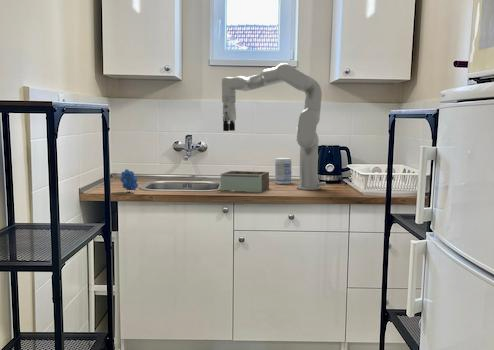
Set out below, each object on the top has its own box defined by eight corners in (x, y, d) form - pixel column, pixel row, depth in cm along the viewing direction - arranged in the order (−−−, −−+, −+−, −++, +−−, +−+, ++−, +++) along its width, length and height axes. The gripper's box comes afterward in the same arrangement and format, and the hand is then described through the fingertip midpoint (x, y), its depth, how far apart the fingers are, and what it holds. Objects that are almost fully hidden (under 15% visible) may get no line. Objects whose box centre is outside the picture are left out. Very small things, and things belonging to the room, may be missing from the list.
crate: (268, 188, 256) (268, 171, 255) (261, 192, 242) (261, 174, 241) (230, 186, 263) (230, 170, 262) (221, 190, 249) (221, 173, 248)
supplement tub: (287, 184, 270) (287, 159, 268) (272, 183, 274) (272, 158, 272) (294, 182, 278) (294, 158, 276) (279, 182, 283) (279, 157, 281)
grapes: (115, 192, 245) (114, 169, 243) (124, 190, 250) (123, 168, 249) (131, 194, 239) (130, 170, 237) (141, 192, 244) (140, 169, 243)
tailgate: (261, 192, 242) (261, 174, 241) (261, 192, 241) (261, 175, 240) (221, 190, 248) (221, 173, 247) (220, 190, 247) (220, 173, 246)
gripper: (230, 99, 252) (230, 131, 254) (240, 100, 268) (240, 130, 270) (216, 99, 254) (217, 131, 256) (227, 100, 271) (228, 130, 273)
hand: (229, 130), depth 263 cm, fingers open, 9 cm apart
